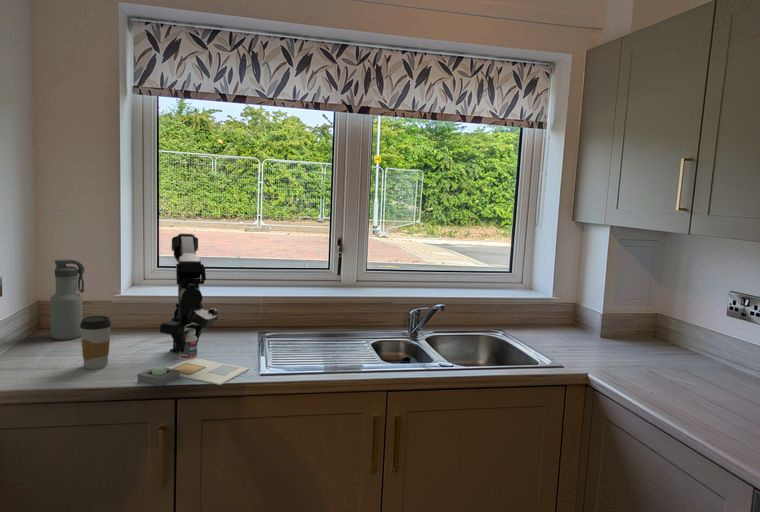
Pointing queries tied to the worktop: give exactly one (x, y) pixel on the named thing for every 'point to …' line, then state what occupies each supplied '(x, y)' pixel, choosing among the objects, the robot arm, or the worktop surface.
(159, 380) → the button housing
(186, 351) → the pill bottle
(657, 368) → the worktop surface
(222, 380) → the picture board
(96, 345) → the coffee cup
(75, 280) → the water bottle
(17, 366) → the worktop surface
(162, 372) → the button
